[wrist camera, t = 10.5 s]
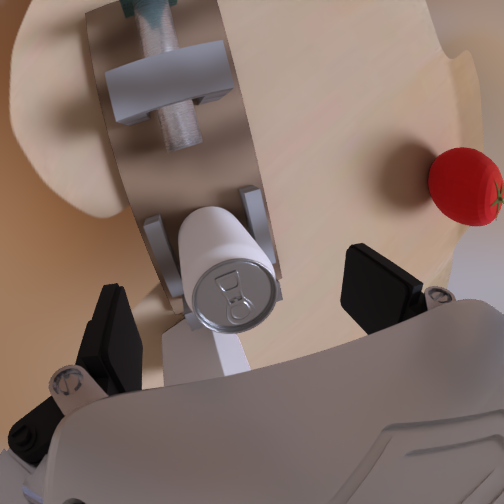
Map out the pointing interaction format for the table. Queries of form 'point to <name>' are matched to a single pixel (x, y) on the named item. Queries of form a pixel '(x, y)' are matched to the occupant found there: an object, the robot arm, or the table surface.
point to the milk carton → (200, 354)
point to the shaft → (156, 42)
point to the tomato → (466, 186)
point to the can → (224, 272)
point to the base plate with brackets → (186, 159)
